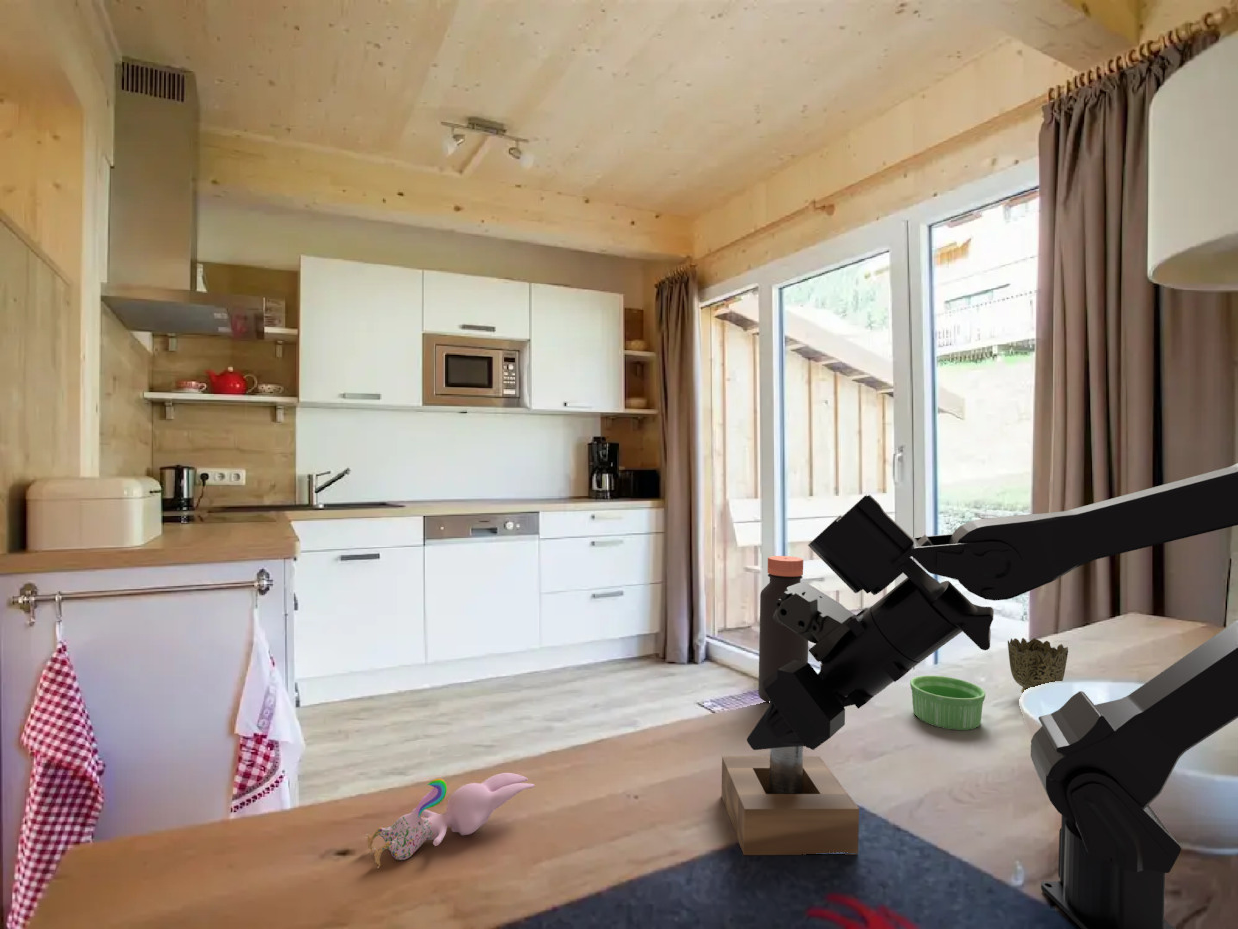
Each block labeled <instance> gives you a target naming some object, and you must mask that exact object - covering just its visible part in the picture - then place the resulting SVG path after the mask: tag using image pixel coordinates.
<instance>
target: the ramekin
mask: <svg viewBox="0 0 1238 929" xmlns="http://www.w3.org/2000/svg"><path fill="white" fill-rule="evenodd" d="M909 685H910V689H911V694H912V696H911V697H912V707H913V708H912V709H913V714H914V716H915V715H916V716H917V717H918V718H920V719H921V720H923V721H925V722H926V723H925V722H924V723H925V724H928V723H929V724H928V725H930V724H933V725H935V726H934V727H936V726H939V727H938V728H940V727H944V728H943V729H945V728H948V729H947V730H951V729H957V730H956V731H969V729H971V730H975V729H977V728H978V727H980V725H981V722H982V714H983V705H984V701H985V698H986V692H985V690H984V689H983V688H982V687H981V686H979V685H977V684H975V683H972V682H971V681H966V680H963V679H960V678H955V677H949V676H943V675H920V676H915V677H912V678H911V680H910V682H909ZM916 716H915V717H916ZM917 717H916V718H917ZM918 718H917V719H918ZM920 719H919V720H920ZM921 720H920V721H921ZM923 721H922V722H923ZM933 725H932V726H933ZM976 727H977V728H976ZM974 728H975V729H974Z"/></svg>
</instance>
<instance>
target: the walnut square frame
mask: <svg viewBox="0 0 1238 929" xmlns="http://www.w3.org/2000/svg"><path fill="white" fill-rule="evenodd" d="M769 773H770V755H769V756H768V755H767V756H758V755H757V756H752V755H751V756H742V755H741V756H738V755H737V756H726V755H725V756H723V755H722V756H721V794H720V795H721V798H722V801H723V804H724V807H725V809H726V812H727V814H728V817H729V819H730V821H731V825H732V827H733V831H734V833H735V836H736V838H737V841H738V844H739V846H740V848H741V851H742V854H743V856H797V855H798V856H801V855H802V854H803V855H802V856H806V854H816V853H817V854H818V853H829V852H830V853H833V852H834V853H836V852H839V853H840V852H843V853H844V852H845V853H847V852H848V853H858V854H859V838H860V837H859V832H860V831H859V828H860V808H859V806H858V805H857V804H856V803H855V801H854V800H853V798H852V797H851V796H850V795H849V793H848V791H847V790H846V789H845V788H844V786H843V785H842V784H841V782H840V781H839V780H838V778H837V777H836V776H835V775H834V773H833V771H832V770H831V769H830V768H829V767H828V765H827V764H826V762H825V761H824V760H823V758H822V757H821V756H817V755H816V756H810V755H809V756H807V755H806V756H805V755H803V775H802V794H769Z"/></svg>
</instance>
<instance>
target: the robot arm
mask: <svg viewBox="0 0 1238 929" xmlns="http://www.w3.org/2000/svg"><path fill="white" fill-rule="evenodd" d="M1235 526H1238V462H1237V463H1235V464H1233V465H1231V466H1228V467H1224V468H1221V469H1216V470H1213V471H1209V472H1205V473H1202V474H1198V475H1193V476H1191V477H1187V478H1184V479H1179V480H1175V481H1172V482H1169V483H1164V484H1161V485H1158V486H1153V487H1150V488H1146V489H1143V490H1139V491H1135V492H1131V493H1127V494H1123V495H1121V496H1117V497H1113V498H1110V499H1106V500H1102V501H1101V500H1100V501H1098V502H1094V503H1090V504H1088V505H1083V506H1080V507H1075V508H1072V509H1069V510H1065V511H1064V510H1062V511H1055V512H1045V513H1043V512H1042V513H1030V514H1016V515H1008V516H1007V515H1006V516H1000V517H999V516H997V517H989V518H981V519H975V520H974V519H973V520H970V521H968V522H966V523H964V524H961V525H959V527H957V528H956V529H955V530H954V532H953V533H947V534H946V533H945V534H936V535H926V534H924V535H923V536H915V537H914V536H913V537H912V536H910V534H908V533H907V532H906V531H905V530H904V529H903V528H902V527H901V526H900V525H898V524H897V522H896V521H895V520H893V519H892V517H890V516H889V515H888V513H887V512H885V510H884V509H883V507H882V506H881V504H880V503H879V502H878V501H877V500H876V498H874V497H873V496H872V495H871V494H865V495H864V496H863V497H862V498H861V499H860V500H859V501H857V502H856V503H855V504H854V505H853V506H852V507H851V508H850V509H848V510H847V511H846V512H845V513H844V514H843V515H839V516H837V517H836V518H835V520H833V521H832V522H831V523H830V524H829V525H828V526H827V527H826V528H825V529H824V530H822V531H821V532H820V533H819V534H818V535H817V536H816V537H815V538H814V539H813V540H812V541H810V542H809V544H807V546H808V547H809V549H811V550H812V551H813V553H815V554H816V556H818V557H819V558H820V559H821V561H823V563H824V564H826V566H827V567H829V568H830V569H831V571H832V572H833V573H834V574H835V575H836V576H837V577H839V579H840V580H842V582H843V583H844V584H846V586H847V587H848V588H849V589H850V590H851V591H852V592H853V593H854V594H858V593H860V592H861V591H864V592H865V593H866V594H869V593H871V594H872V595H873V596H876V595H878V594H879V593H881V592H882V591H883V590H885V589H886V588H887V587H888V586H890V585H891V584H892V583H893V582H894V581H896V580H897V579H898V577H900V576H901V575H902V574H903V575H904V576H906V578H905V579H904V580H902V581H901V582H900V583H899V584H897V585H896V586H895V587H893V589H891V590H890V591H888V592H887V594H885V595H883V597H881V598H880V599H879V600H877V602H875V603H874V604H872V605H871V606H870V607H869V608H868V607H866V608H864V609H862V610H860V611H859V612H857V614H855V613H853V612H852V611H851V610H849V609H848V608H846V607H845V606H844V605H843V604H842V603H840V602H839V601H837V600H835V599H834V598H832V597H831V596H829V595H827V594H826V593H824V592H822V591H821V590H819V589H818V588H816V587H814V586H813V585H811V584H809V583H806V582H801V581H800V583H798V584H795V585H792V586H789V587H787V589H786V591H785V592H784V593H783V595H782V597H781V598H780V599H778V600H776V601H775V602H774V607H775V608H776V611H775V613H774V615H773V618H774V619H775V621H776V622H778V623H779V624H781V625H782V626H784V625H785V626H786V627H788V628H789V629H791V630H792V631H794V632H795V633H797V634H799V635H800V636H802V637H803V638H805V639H806V640H808V642H810V643H812V644H814V645H813V646H812V647H811V648H808V653H810V654H811V656H812V657H813V658H814V660H815V661H816V662H817V663H818V662H820V664H819V667H820V671H819V672H818V673H817V671H816V670H815V669H814V667H813V666H812V665H811V663H810V662H808V663H806V662H802V661H797V660H793V661H792V662H790V663H788V664H786V665H785V666H783V667H781V668H780V669H778V670H777V671H775V672H774V673H773V674H772V675H770V676H769V677H768V678H767V679H766V680H764V681H763V687H764V691H765V692H766V694H767V696H768V698H769V700H770V703H769V705H768V707H767V709H766V710H765V712H764V713H763V715H762V716H761V718H760V719H759V720H758V722H757V723H756V724H755V726H754V728H753V729H752V731H751V732H750V733H749V735H748V737H747V738H746V742H747V743H748V745H749V747H750V748H751V749H752V750H753V751H759V750H770V749H771V748H781V747H797V746H803V747H806V748H807V749H810V750H812V751H814V750H816V749H817V748H818V747H819V746H821V745H823V744H824V743H825V742H827V741H828V740H829V739H830V738H832V737H833V736H834V735H835V734H836V733H837V732H838V731H840V730H841V729H842V728H843V727H844V726H845V725H846V708H847V707H850V706H855V707H856V708H857V709H860V708H861V707H863V706H864V705H865V704H867V703H868V702H870V701H871V699H873V698H875V696H877V695H878V694H879V693H881V692H882V691H884V690H885V689H886V688H888V686H890V685H891V684H893V683H896V682H897V681H899V680H900V679H902V678H903V677H905V675H906V674H907V673H909V672H910V671H911V670H912V669H913V668H915V667H916V666H917V665H919V664H920V663H921V662H923V661H924V660H926V659H927V658H929V656H931V655H932V654H934V653H935V652H936V651H937V650H939V649H941V648H942V647H944V646H945V645H946V644H947V643H949V642H950V641H951V640H953V639H954V638H956V637H957V636H958V635H959V634H961V633H962V632H963V633H964V634H965V635H966V636H967V637H968V639H970V640H971V641H972V642H973V643H974V644H975V645H976V646H977V647H978V648H979V649H980V650H982V651H988V650H990V648H991V636H992V635H991V634H992V632H991V631H992V630H991V626H992V623H993V621H994V610H995V609H994V608H993V607H992V606H981V605H977V604H974V603H972V602H971V601H970V600H969V598H968V597H966V596H965V595H964V594H963V593H962V592H961V591H960V590H959V589H958V588H956V587H955V585H953V583H951V581H949V580H945V581H942V582H939V581H938V580H937V579H935V578H934V577H933V576H931V575H930V574H932V575H937V576H941V577H944V578H949V579H953V580H957V581H958V582H959V584H960V585H962V587H963V588H964V589H966V590H967V592H970V593H971V594H973V595H975V596H977V597H979V598H983V599H984V600H988V601H994V602H995V601H1003V600H1004V601H1006V600H1011V599H1014V598H1016V597H1019V596H1022V595H1024V594H1026V593H1029V592H1030V591H1033V590H1035V589H1038V588H1040V587H1042V586H1045V585H1047V584H1049V583H1052V582H1054V581H1056V580H1058V579H1059V578H1061V577H1063V576H1065V575H1067V574H1069V573H1070V572H1072V571H1073V570H1075V569H1077V568H1079V567H1081V566H1084V565H1085V564H1088V563H1090V562H1093V561H1095V560H1100V559H1105V558H1108V557H1112V556H1115V555H1116V556H1117V555H1119V554H1120V555H1121V554H1123V553H1124V554H1125V553H1129V552H1131V551H1132V552H1133V551H1136V550H1141V549H1144V548H1148V547H1150V548H1151V547H1153V546H1157V545H1162V544H1165V543H1170V542H1174V541H1178V540H1182V539H1183V540H1184V539H1187V538H1191V537H1195V536H1198V535H1202V534H1207V533H1211V532H1215V531H1219V530H1223V529H1228V528H1232V527H1235ZM921 566H922V567H921ZM923 568H924V569H925V570H926V571H927V572H926V571H925V570H924V569H923ZM845 707H846V708H845ZM1237 719H1238V619H1236V620H1235V621H1233V622H1232V623H1230V624H1229V625H1228V626H1226V627H1225V628H1223V629H1222V630H1220V631H1219V632H1218V633H1217V634H1216V633H1215V635H1214V636H1212V637H1210V638H1209V639H1208V640H1206V641H1205V642H1203V643H1202V644H1200V645H1199V646H1198V647H1196V648H1194V649H1193V650H1192V651H1190V652H1189V653H1187V654H1186V655H1185V656H1183V657H1182V658H1180V659H1179V660H1177V661H1176V662H1173V664H1172V665H1170V666H1169V667H1167V668H1166V669H1165V670H1162V672H1160V673H1159V674H1157V675H1156V676H1154V677H1153V678H1151V679H1150V680H1148V681H1147V682H1146V683H1144V684H1143V685H1141V686H1140V687H1139V688H1137V689H1135V690H1134V691H1132V692H1131V693H1129V694H1128V695H1126V696H1124V697H1122V698H1119V699H1115V700H1110V701H1107V702H1101V703H1097V704H1094V702H1092V700H1091V699H1090V698H1089V696H1088V695H1087V693H1085V691H1083V690H1080V691H1077V692H1076V693H1075V694H1073V695H1072V696H1071V697H1070V698H1069V699H1068V700H1067V701H1066V702H1065V703H1064V704H1063V705H1062V706H1061V707H1060V708H1058V710H1055V711H1053V712H1052V713H1050V714H1046V715H1040V716H1039V717H1038V721H1039V722H1040V724H1041V727H1040V728H1039V729H1038V730H1036V732H1034V734H1033V736H1032V738H1031V739H1030V743H1031V744H1030V758H1031V762H1032V765H1033V766H1034V770H1035V771H1036V774H1037V777H1039V781H1040V782H1041V784H1042V786H1043V789H1044V791H1045V793H1046V795H1047V797H1048V799H1049V801H1050V803H1051V804H1052V805H1053V807H1054V809H1055V810H1056V811H1057V812H1058V813H1059V814H1060V815H1061V824H1060V825H1061V826H1060V829H1059V837H1058V838H1059V840H1058V867H1057V868H1058V869H1057V870H1058V874H1057V875H1058V878H1059V880H1044V881H1040V890H1042V892H1043V893H1044V894H1045V895H1046V896H1048V897H1049V899H1050V900H1052V901H1053V902H1054V903H1055V904H1056V905H1057V906H1058V907H1059V909H1061V910H1062V911H1063V912H1064V913H1065V914H1066V915H1067V916H1068V917H1069V918H1070V919H1071V920H1072V921H1073V922H1074V923H1075V924H1076V925H1077V926H1078V927H1080V928H1081V929H1176V927H1175V926H1173V925H1172V924H1171V923H1169V922H1168V921H1167V920H1165V900H1166V899H1165V898H1166V897H1165V896H1166V895H1165V894H1166V893H1165V892H1166V874H1168V873H1170V872H1171V870H1172V868H1173V867H1174V865H1175V863H1176V861H1177V859H1178V857H1179V855H1180V853H1181V852H1182V849H1181V846H1180V844H1179V843H1178V842H1177V840H1176V839H1175V838H1174V836H1173V835H1172V834H1171V832H1170V831H1169V829H1168V828H1167V827H1166V825H1165V824H1164V823H1163V821H1162V819H1161V818H1160V817H1159V816H1158V814H1157V813H1156V811H1154V809H1153V808H1152V806H1150V805H1151V803H1152V802H1153V801H1155V799H1157V797H1158V796H1160V794H1161V793H1162V792H1163V790H1164V787H1165V785H1166V784H1167V782H1168V780H1169V778H1170V776H1171V774H1172V772H1173V771H1174V769H1175V767H1176V765H1177V762H1178V761H1179V759H1180V758H1181V757H1182V756H1183V755H1184V754H1185V753H1186V752H1188V751H1189V750H1190V749H1193V748H1194V747H1195V746H1197V745H1198V744H1200V743H1202V742H1203V741H1204V740H1206V739H1207V738H1209V737H1210V736H1212V735H1214V734H1215V733H1216V732H1218V731H1219V730H1222V729H1223V728H1225V727H1226V726H1227V725H1229V724H1231V723H1232V722H1233V721H1235V720H1237Z"/></svg>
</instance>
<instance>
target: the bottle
mask: <svg viewBox="0 0 1238 929" xmlns="http://www.w3.org/2000/svg"><path fill="white" fill-rule="evenodd" d="M803 575H804V559H803V558H801V557H797V556H791V555H772V556H769V557H767V577H769V583H767V585H765V587H763V588H762V590H761V591H760V595H759V596H760V598H759V600H760V601H759V604H760V605H759V636H758V637H759V638H758V639H759V641H758V642H759V643H758V644H759V646H758V648H759V649H758V688H757V689H758V690H757V691H758V693H757V694H758V696H759V699H761V700H762V701H764V702H765V703H768V702H769V701H770V700H769V698H768V696H767V694H766V692H765V691H764V687H763V681H764V680H766V679H767V678H768V677H769V676H770V675H772V674H773V673H774V672H775V671H777V670H778V669H780V668H781V667H783V666H785V665H786V664H788V663H790V662H792V661H793V660H797V661H802V662H806V663H809V641H808V640H806V639H805V638H803V637H802V636H800V635H799V634H797V633H795V632H794V631H792V630H791V629H789V628H788V627H786V626H785V625H784V626H782V625H781V624H779V623H778V622H776V621H775V619H774V618H773V615H774V613H775V611H776V608H775V607H774V602H775V601H776V600H778V599H780V598H781V597H782V595H783V593H784V592H785V591H786V589H787V587H789V586H792V585H795V584H798V583H801V579H803Z"/></svg>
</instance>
